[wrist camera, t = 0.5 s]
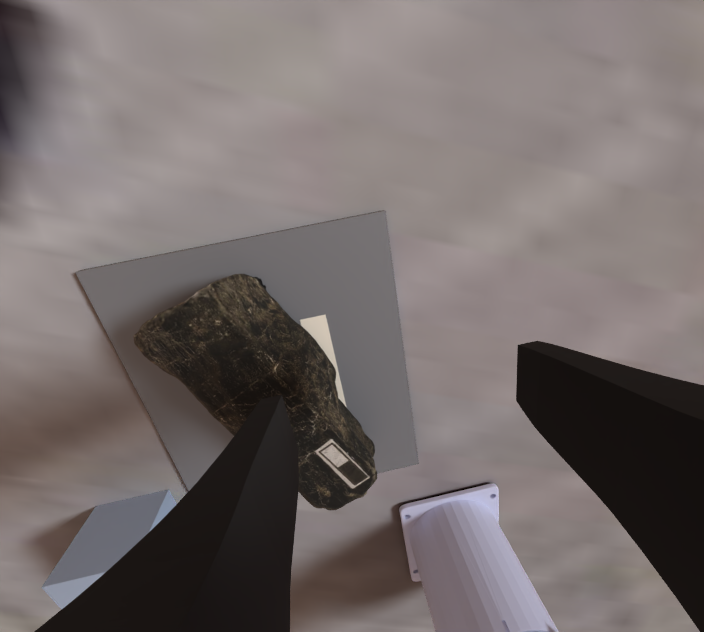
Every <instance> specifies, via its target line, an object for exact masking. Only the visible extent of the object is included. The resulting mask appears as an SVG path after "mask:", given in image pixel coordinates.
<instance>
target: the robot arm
mask: <svg viewBox="0 0 704 632" xmlns="http://www.w3.org/2000/svg"><path fill="white" fill-rule="evenodd" d="M516 401H517V402H518V404H519V405H520V407H521V408H522V410H523V411H524V413H525V414H526V416H527V417H528V418H529V420H530V421H531V423H532V424H533V425H534V427H535V428H536V429H537V430H538V432H539V433H540V434H541V435H542V436H543V437H544V438H545V439H546V440H547V442H548V443H549V444H550V445H551V446H552V447H553V448H554V449H555V450H556V451H557V452H558V454H559V455H560V456H561V457H562V458H563V459H564V460H565V461H566V462H567V463H568V464H569V465H570V467H571V468H572V469H573V470H574V471H575V472H576V473H577V474H578V475H579V476H580V477H581V478H582V479H583V481H584V482H585V483H586V484H587V485H588V486H589V487H590V488H591V489H592V490H593V491H594V492H595V493H596V495H597V496H598V497H599V498H600V499H601V500H602V501H603V503H604V504H605V505H606V506H607V507H608V508H609V510H610V511H611V512H612V513H613V514H614V516H615V517H616V518H617V520H618V521H619V522H620V523H621V525H622V526H623V527H624V529H625V530H626V531H627V532H628V534H629V535H630V536H631V538H632V539H633V540H634V541H635V543H636V544H637V545H638V547H639V548H640V549H641V550H642V552H643V553H644V554H645V556H646V557H647V558H648V560H649V561H650V563H651V564H652V565H653V567H654V568H655V569H656V571H657V572H658V573H659V575H660V576H661V577H662V579H663V580H664V581H665V583H666V584H667V586H668V587H669V588H670V590H671V591H672V592H673V594H674V595H675V596H676V598H677V599H678V601H679V602H680V603H681V605H682V606H683V608H684V609H685V611H686V612H687V614H688V615H689V616H690V618H691V619H692V621H693V622H694V624H695V625H696V626H697V628H698V629H699V631H700V632H704V385H699V384H695V383H691V382H686V381H682V380H678V379H674V378H670V377H666V376H662V375H659V374H655V373H651V372H647V371H643V370H640V369H636V368H632V367H629V366H625V365H622V364H618V363H615V362H611V361H608V360H605V359H601V358H598V357H595V356H591V355H588V354H584V353H581V352H578V351H574V350H571V349H568V348H564V347H560V346H557V345H553V344H549V343H545V342H540V341H535V342H530V343H525V344H521V345H518V358H517V394H516ZM298 487H299V464H298V447H297V444H296V440H295V437H294V434H293V430H292V427H291V424H290V420H289V417H288V414H287V410H286V407H285V404H284V400H283V397H282V395H279V396H274V397H269V398H264V399H261V400H260V401H259V403H258V404H257V405H256V407H255V408H254V410H253V411H252V412H251V414H250V415H249V416H248V418H247V419H246V421H245V422H244V423H243V425H242V426H241V427H240V429H239V430H238V432H237V433H236V434H235V436H234V437H233V438H232V440H231V441H230V442H229V444H228V445H227V446H226V448H225V449H224V450H223V451H222V453H221V454H220V455H219V456H218V457H217V459H216V460H215V461H214V462H213V464H212V465H211V466H210V467H209V468H208V470H207V471H206V472H205V473H204V474H203V476H202V477H201V478H200V479H199V480H198V482H197V483H196V484H195V485H194V486H193V487H192V488H191V490H190V491H189V492H188V493H187V494H186V495H185V496H184V497H183V498H182V499H181V500H180V502H179V503H178V504H177V505H176V506H175V507H174V508H173V509H172V510H171V511H170V512H169V513H168V514H167V515H166V516H165V517H164V518H163V519H162V520H161V521H160V522H159V523H158V524H157V525H156V526H155V527H154V528H153V529H152V530H151V531H150V532H149V533H148V534H147V535H146V536H144V537H143V538H142V539H141V540H140V541H139V542H138V543H137V544H136V545H135V546H134V547H133V548H132V549H130V550H129V551H128V552H127V553H126V554H125V555H124V556H123V557H122V558H121V559H120V560H119V561H118V562H116V563H115V564H114V565H113V566H112V567H111V568H110V569H109V570H108V571H107V572H105V573H104V574H103V575H102V576H101V577H100V578H99V579H97V580H96V581H95V582H94V583H93V584H92V585H90V586H89V587H88V588H87V589H86V590H85V591H83V592H82V593H81V594H80V595H79V596H78V597H76V598H75V599H74V600H73V601H72V602H70V603H69V604H68V605H67V606H65V607H64V608H63V609H62V610H61V611H59V612H58V613H57V614H56V615H54V616H53V617H52V618H51V619H50V620H48V621H47V622H46V623H45V624H43V625H42V626H41V627H40V628H39V629H37V630H36V631H35V632H290V581H291V565H292V554H293V543H294V532H295V521H296V510H297V499H298ZM399 512H400V518H401V523H402V529H403V535H404V540H405V546H406V552H407V557H408V563H409V569H410V575H411V579H412V581H414V582H418V581H421V582H422V585H423V589H424V592H425V596H426V599H427V603H428V606H429V610H430V614H431V617H432V621H433V624H434V628H435V631H436V632H559V631H558V630H557V628H556V626H555V624H554V623H553V621H552V619H551V617H550V615H549V614H548V612H547V610H546V608H545V606H544V605H543V603H542V601H541V599H540V598H539V596H538V594H537V592H536V590H535V589H534V587H533V585H532V583H531V581H530V580H529V578H528V576H527V574H526V573H525V571H524V569H523V567H522V565H521V564H520V562H519V560H518V558H517V556H516V555H515V553H514V551H513V549H512V547H511V546H510V544H509V542H508V540H507V539H506V537H505V535H504V533H503V531H502V530H501V528H500V526H499V490H498V487H497V486H496V485H495V484H493V483H491V484H486V485H482V486H478V487H474V488H470V489H465V490H461V491H457V492H453V493H449V494H445V495H440V496H436V497H432V498H428V499H424V500H420V501H415V502H411V503H407V504H404V505H402V506H401V507H400V508H399Z"/></svg>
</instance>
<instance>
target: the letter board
mask: <svg viewBox="0 0 704 632" xmlns="http://www.w3.org/2000/svg"><path fill="white" fill-rule="evenodd" d="M75 273H76V275H77V277H78V279H79V280H80V282H81V284H82V286H83V288H84V290H85V292H86V294H87V296H88V298H89V300H90V302H91V304H92V306H93V307H94V309H95V311H96V313H97V315H98V317H99V319H100V321H101V323H102V325H103V327H104V329H105V331H106V333H107V334H108V336H109V338H110V340H111V342H112V344H113V346H114V348H115V350H116V352H117V354H118V356H119V358H120V360H121V361H122V363H123V365H124V367H125V369H126V371H127V373H128V375H129V377H130V379H131V381H132V383H133V385H134V387H135V388H136V390H137V392H138V394H139V396H140V398H141V400H142V402H143V404H144V406H145V408H146V410H147V412H148V414H149V416H150V417H151V419H152V421H153V423H154V425H155V427H156V429H157V431H158V433H159V435H160V437H161V439H162V441H163V443H164V444H165V446H166V448H167V450H168V452H169V454H170V456H171V458H172V460H173V462H174V464H175V466H176V468H177V470H178V471H179V473H180V475H181V477H182V479H183V481H184V483H185V485H186V487H187V489H188V491H190V490H191V488H192V487H193V486H194V485H195V484H196V483H197V482H198V480H199V479H200V478H201V477H202V476H203V474H204V473H205V472H206V471H207V470H208V468H209V467H210V466H211V465H212V464H213V462H214V461H215V460H216V459H217V457H218V456H219V455H220V454H221V453H222V451H223V450H224V449H225V448H226V446H227V445H228V444H229V442H230V441H231V440H232V438H233V437H234V436H233V435H232V434H231V433H230V432H229V431H228V430H227V429H226V428H225V427H224V426H223V425H222V424H221V423H220V422H219V421H217V420H216V419H215V418H214V417H213V416H212V415H211V414H210V413H209V412H208V410H207V409H206V408H205V407H204V406H203V405H202V404H201V403H200V402H199V401H198V400H197V399H196V397H195V396H194V395H193V394H192V393H191V392H190V391H189V390H188V389H187V387H186V386H185V385H184V384H183V383H182V382H181V381H179V380H178V379H177V378H175V377H174V376H172V375H169V374H168V373H166V372H164V371H163V370H162V369H160V368H159V367H158V366H157V365H155V364H153V363H152V362H151V361H150V360H148V359H147V358H146V357H145V356H144V355H143V354H142V353H141V351H140V350H139V349H138V348H137V346H136V345H135V344H134V338H133V336H134V334H136V333H137V332H138V331H139V329H140V327H141V326H142V325H143V324H144V323H145V322H146V321H148V320H150V319H152V318H153V317H154V316H156V315H157V314H158V313H160V312H163V311H165V310H167V309H169V308H171V307H174V306H176V305H178V304H179V303H182V302H184V301H186V300H187V299H188V298H190V297H191V296H193V295H194V294H195V293H196V292H197V291H199V290H201V289H203V288H205V287H207V286H208V285H209V284H211V283H213V282H215V281H217V280H220V279H222V278H226V277H228V276H231V275H234V274H246V275H249V276H252V277H258V278H259V279H260V278H261V280H262V283H263V285H265V286H266V290H267V292H268V293H269V294H270V296H271V297H273V298H274V299H275V300H276V301H277V302H278V303H279V305H280V306H281V307H282V309H283V310H284V311H285V312H286V313H288V315H289V316H290V317H291V318H292V319H293V320H294V321H295V322H297V323H298V324H300V325H301V326H302V327H303V328H304V329H305V330H307V331H308V333H309V334H310V335H311V336H312V337H313V338H314V339H315V340H316V341H317V343H318V344H319V346H320V347H321V348H322V350H323V351H324V352H325V354H326V355H327V357H328V359H329V360H330V361H331V363H332V364H333V366H334V368H335V370H336V381H335V383H336V388H337V392H338V398H339V399H340V400H341V401H342V403H343V404H344V405H345V406H346V407H347V409H348V410H349V411H350V412H351V413H352V415H353V416H354V417H355V418H356V419H357V420H358V421H359V423H360V424H361V426H362V429H363V431H364V433H365V434H366V435H367V436H368V437H369V438H370V439H371V440H372V441H373V443H374V445H375V454H374V457H373V459H374V462H375V468H376V471H377V473H382V472H386V471H390V470H394V469H399V468H403V467H407V466H411V465H416V464H419V461H418V454H417V446H416V438H415V431H414V423H413V416H412V408H411V400H410V393H409V385H408V378H407V370H406V362H405V355H404V347H403V340H402V332H401V324H400V317H399V309H398V302H397V294H396V286H395V279H394V271H393V264H392V256H391V248H390V241H389V233H388V226H387V218H386V211H385V210H383V211H378V212H373V213H368V214H363V215H357V216H352V217H347V218H342V219H337V220H332V221H327V222H322V223H317V224H312V225H307V226H302V227H297V228H292V229H287V230H282V231H277V232H272V233H266V234H261V235H256V236H251V237H246V238H241V239H236V240H231V241H226V242H221V243H216V244H211V245H206V246H201V247H196V248H191V249H186V250H181V251H175V252H170V253H165V254H160V255H155V256H150V257H145V258H140V259H135V260H130V261H125V262H120V263H115V264H110V265H105V266H100V267H95V268H90V269H84V270H80V271H77V272H75ZM298 492H299V491H298Z"/></svg>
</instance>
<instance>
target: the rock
mask: <svg viewBox="0 0 704 632" xmlns="http://www.w3.org/2000/svg"><path fill="white" fill-rule="evenodd" d="M133 338H134V344H135V345H136V346H137V348H138V349H139V350H140V351H141V353H142V354H143V355H144V356H145V357H146V358H147V359H148V360H150V361H151V362H152V363H153V364H155V365H157V366H158V367H159V368H160V369H162V370H163V371H164V372H166V373H168V374H169V375H172V376H174V377H175V378H177V379H178V380H179V381H181V382H182V383H183V384H184V385H185V386H186V387H187V389H188V390H189V391H190V392H191V393H192V394H193V395H194V396H195V397H196V399H197V400H198V401H199V402H200V403H201V404H202V405H203V406H204V407H205V408H206V409H207V410H208V412H209V413H210V414H211V415H212V416H213V417H214V418H215V419H216V420H217V421H219V422H220V423H221V424H222V425H223V426H224V427H225V428H226V429H227V430H228V431H229V432H230V433H231V434H232V435H233V436H235V434H236V433H237V432H238V430H239V429H240V427H241V426H242V425H243V423H244V422H245V421H246V419H247V418H248V416H249V415H250V414H251V412H252V411H253V410H254V408H255V407H256V405H257V404H258V403H259V401H260V400H261V399H264V398H269V397H274V396H279V395H282V397H283V400H284V404H285V407H286V410H287V414H288V417H289V420H290V424H291V427H292V430H293V434H294V437H295V440H296V444H297V447H298V464H299V487H298V491H299V492H300V493H301V495H302V496H303V497H304V498H305V499H306V500H307V501H308V502H309V503H310V504H311V505H313V506H314V507H316V508H326V509H327V510H337V509H339V508H341V507H343V506H344V505H346V504H347V503H349V502H351V501H353V500H355V499H357V498H361V497H363V496H364V495H365V494H366V493H367V490H368V489H369V488H370V487H371V486H372V485H373V483H374V482H375V481H376V479H377V471H376V468H375V462H374V459H373V457H374V454H375V445H374V443H373V441H372V440H371V439H370V438H369V437H368V436H367V435H366V434H365V433H364V431H363V429H362V426H361V424H360V423H359V421H358V420H357V419H356V418H355V417H354V416H353V415H352V413H351V412H350V411H349V410H348V409H347V407H346V406H345V405H344V404H343V403H342V401H341V400H340V399H339V398H338V392H337V388H336V383H335V381H336V370H335V368H334V366H333V364H332V363H331V361H330V360H329V359H328V357H327V355H326V354H325V352H324V351H323V350H322V348H321V347H320V346H319V344H318V343H317V341H316V340H315V339H314V338H313V337H312V336H311V335H310V334H309V333H308V331H307V330H305V329H304V328H303V327H302V326H301V325H300V324H298V323H297V322H295V321H294V320H293V319H292V318H291V317H290V316H289V315H288V313H286V312H285V311H284V310H283V309H282V307H281V306H280V305H279V303H278V302H277V301H276V300H275V299H274V298H273V297H271V296H270V294H269V293H268V292H267V290H266V286H265V285H263V283H262V280H261V278H260V279H259V278H258V277H252V276H249V275H246V274H234V275H231V276H228V277H226V278H222V279H220V280H217V281H215V282H213V283H211V284H209V285H208V286H207V287H205V288H203V289H201V290H199V291H197V292H196V293H195V294H194V295H193V296H191V297H190V298H188V299H187V300H186V301H184V302H182V303H179V304H178V305H176V306H174V307H171V308H169V309H167V310H165V311H163V312H160V313H158V314H157V315H156V316H154V317H153V318H152V319H150V320H148V321H146V322H145V323H144V324H143V325H142V326H141V327H140V329H139V331H138V332H137V333H136V334H134V336H133Z"/></svg>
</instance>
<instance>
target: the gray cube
mask: <svg viewBox="0 0 704 632" xmlns="http://www.w3.org/2000/svg"><path fill="white" fill-rule="evenodd" d="M176 505H177V504H176V502H175V500H174V498H173V496H172V495H171V493H170V491H169V490H165V491H160V492H156V493H152V494H147V495H143V496H138V497H134V498H130V499H125V500H121V501H117V502H112V503H108V504H104V505H99V506H96V507H95V508H94V510H93V511H92V513H91V514H90V516H89V517H88V519H87V520H86V522H85V523H84V524H83V526H82V527H81V529H80V530H79V532H78V533H77V535H76V536H75V538H74V539H73V541H72V542H71V544H70V545H69V547H68V548H67V550H66V551H65V553H64V554H63V556H62V557H61V559H60V560H59V562H58V563H57V565H56V566H55V568H54V569H53V571H52V572H51V574H50V575H49V577H48V578H47V580H46V581H45V583H44V584H43V586H42V589H43V590H44V591H45V592H46V593H47V594H48V595H49V596H50V597H51V598H52V600H53V601H54V602H55V603H56V604H57V605H58V606H59V607H60V608H61V609H63V608H64V607H65V606H67V605H68V604H69V603H70V602H72V601H73V600H74V599H75V598H76V597H78V596H79V595H80V594H81V593H82V592H83V591H85V590H86V589H87V588H88V587H89V586H90V585H92V584H93V583H94V582H95V581H96V580H97V579H99V578H100V577H101V576H102V575H103V574H104V573H105V572H107V571H108V570H109V569H110V568H111V567H112V566H113V565H114V564H115V563H116V562H118V561H119V560H120V559H121V558H122V557H123V556H124V555H125V554H126V553H127V552H128V551H129V550H130V549H132V548H133V547H134V546H135V545H136V544H137V543H138V542H139V541H140V540H141V539H142V538H143V537H144V536H146V535H147V534H148V533H149V532H150V531H151V530H152V529H153V528H154V527H155V526H156V525H157V524H158V523H159V522H160V521H161V520H162V519H163V518H164V517H165V516H166V515H167V514H168V513H169V512H170V511H171V510H172V509H173V508H174V507H175V506H176Z"/></svg>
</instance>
